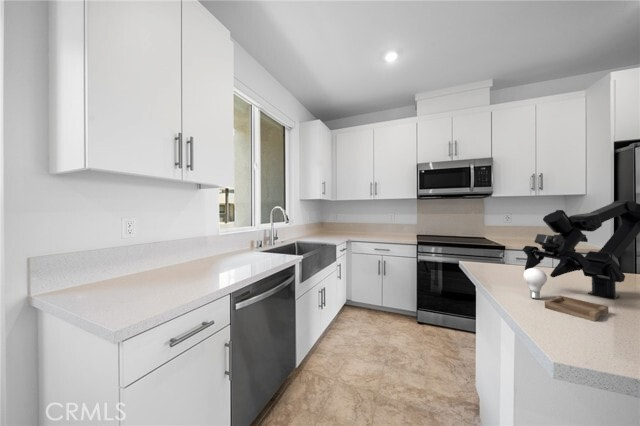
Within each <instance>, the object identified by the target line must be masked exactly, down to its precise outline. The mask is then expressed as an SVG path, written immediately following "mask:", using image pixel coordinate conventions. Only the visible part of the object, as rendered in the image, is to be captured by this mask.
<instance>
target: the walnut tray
mask: <svg viewBox="0 0 640 426" xmlns="http://www.w3.org/2000/svg"><path fill="white" fill-rule="evenodd" d="M544 309H546V310H547V309H548V310H551V311H556V312H558V313H561V314H566V315H568V316H572V317H576V318H577V317H578V318H581V319H584V320H588V321H592V322H596V321H598V320H600V319H602V318H604V317H606V316H607V315H609V311H610V310H609V306H608V305H603V304H600V303H599V304H598V303H595V302H590V301H586V300H582V299H581V300H580V299H576V298H572V297H566V296H564V295H563V296H562V295H557V296H555V297H552V298H550V299H546V300H544Z"/></svg>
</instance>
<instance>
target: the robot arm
mask: <svg viewBox="0 0 640 426" xmlns="http://www.w3.org/2000/svg"><path fill="white" fill-rule="evenodd" d="M617 217H619V219H620V222H621V225H620V226H619V227H618V228H617V230H616V231H615V232H614V233H613V234H612V235H611V236H610V238H609V239H608V240H607V241H606V243H604V245H603V246H602V247H601V248H600V250H599V251H593V250H590V251H588V252H587V254H585V256H584V255H583V254H582V252H578V251H577V250H576V248H575V247H577V245H578V244H579V243H580V242H582V243H588V237H587V235H586V234H584V233H583V232H589V233H590V232H594V231H595V232H596V231H597V230H598V229H600V228H601V227H602V226H603V223H604V222H607V221H609V220H611V219H615V218H617ZM542 221H543V222H544V223H545V225H547V227H548V228H549V229H550V230H551V231H552V232H553V233H555V234H554V235H551V234H541V233H537V234H536V237H535V239H534V242H533V243H535V244H538V245H540V246H541V250H540V248H538V246H533V245H525V246H524V247H523V248H522V251H523V252H524V254H525V255H526V262H525V266H524V271H525V270H527V269H529V268H536V266H538V265H539V264H541V263H542V261H543V260H544V259H545V258H548V259H553V260H556V261H559V263H558V264H557V265H556V266H555V268H554V269H553V270H552V271H551V273H550V275H549V276H550V277H551V278H556V277H559V276H562V275H564V274H568V273H571V272H575V271H578V272H579V271H581V270H582V273H583V275H584V277H589V278H591V290H590V291H588V292H587V294H588V295H592V296H597V297H601V298H606V299H612V300H615V299H617V298H619V297H620V296H621V295H620V294H616V293H617V291H616V290H617V289H616V284H617V283H623V282H625V279H626V275H625V274H624V273H623V272H622V271H621V270H620V262H619V259H620V257H621V256H622V254H624V252H625V251H626V250H627V248H628V247H630V245H631V243H633V241H634V240H635V239H636V237H637V236H638V235H640V203H638V202H636V201H633V200H615V201H612V202H611V203H610V204H607V205H605V206H602V207H600V208H597V209H595V210H593V211H590V212H586V213H578V214H573V215H570V216H569V215H568V214H567V213H566V212H565V211H564V209H556V210H555V211H553V212H550V213H549V214H547V215H544V217H543V218H542Z"/></svg>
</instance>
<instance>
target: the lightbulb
mask: <svg viewBox="0 0 640 426" xmlns="http://www.w3.org/2000/svg"><path fill="white" fill-rule="evenodd" d="M522 277H523V279H524V281H525V283H526V284H527V285H528V289H529V293H530V294H529V295H530V296H529V297H531V298H532V299H534V300H539V299H540V298H541V290H542V288H543V286H544V285H545V284H546V283H547V282H548V281H547V280H548V277H547V274H546V273H545V272H544V270H542V269H540V268H538V267H537V268H536V267H533V268H529V269H527V270H525V269H524V272H523V275H522Z"/></svg>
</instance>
